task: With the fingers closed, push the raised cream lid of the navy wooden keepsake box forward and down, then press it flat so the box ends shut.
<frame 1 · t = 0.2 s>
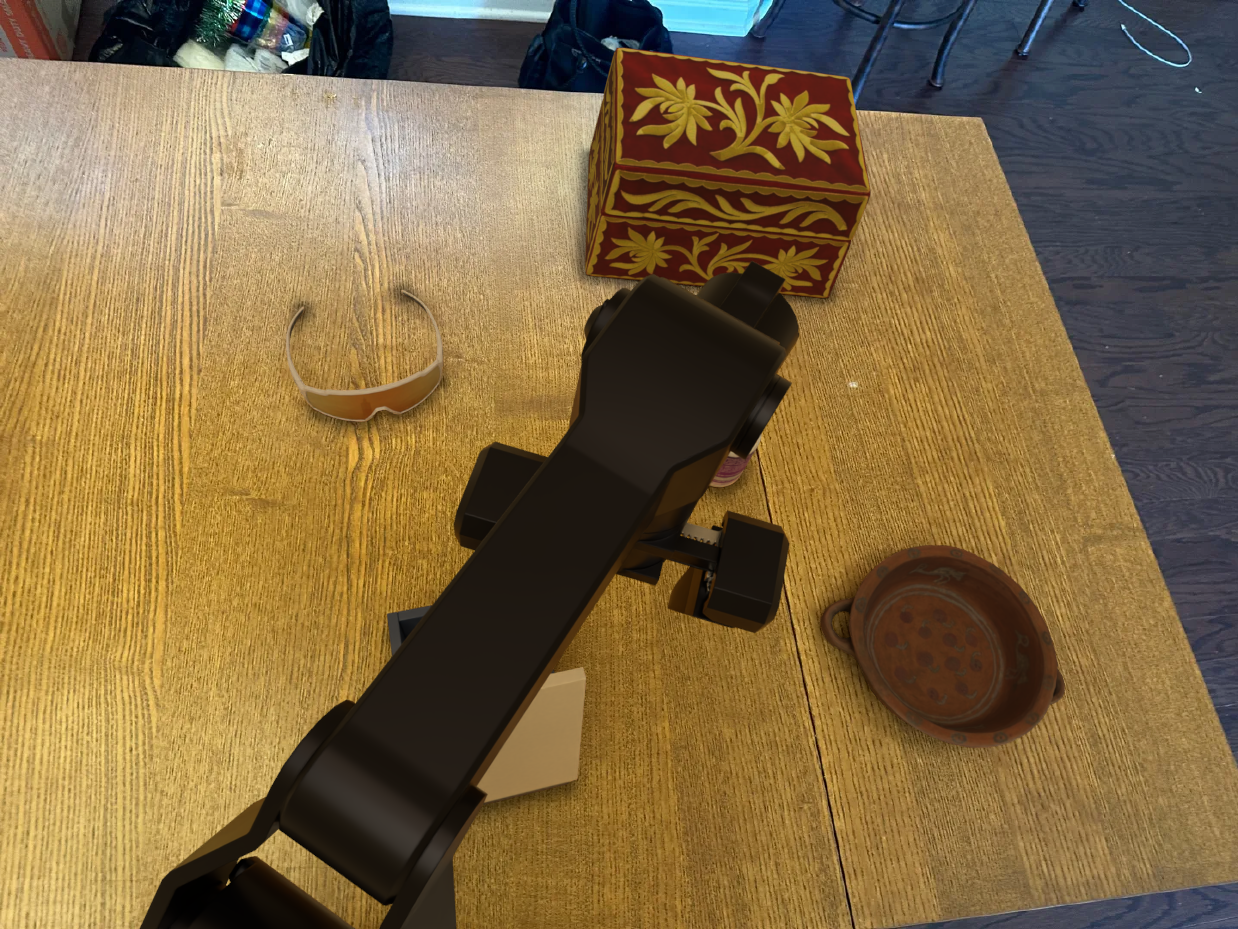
hand: (605, 582, 54), 17 cm above the table, tool pointing down, fingers open, 9 cm apart
lid: (490, 750, 51), point 14 cm above the table, hinge at 75.0°
dish: (928, 654, 73), on the table
decorative box: (704, 226, 93), on the table
pill bottle: (714, 464, 79), on the table
sunglasses: (368, 360, 79), on the table
keepsake box: (479, 707, 66), on the table
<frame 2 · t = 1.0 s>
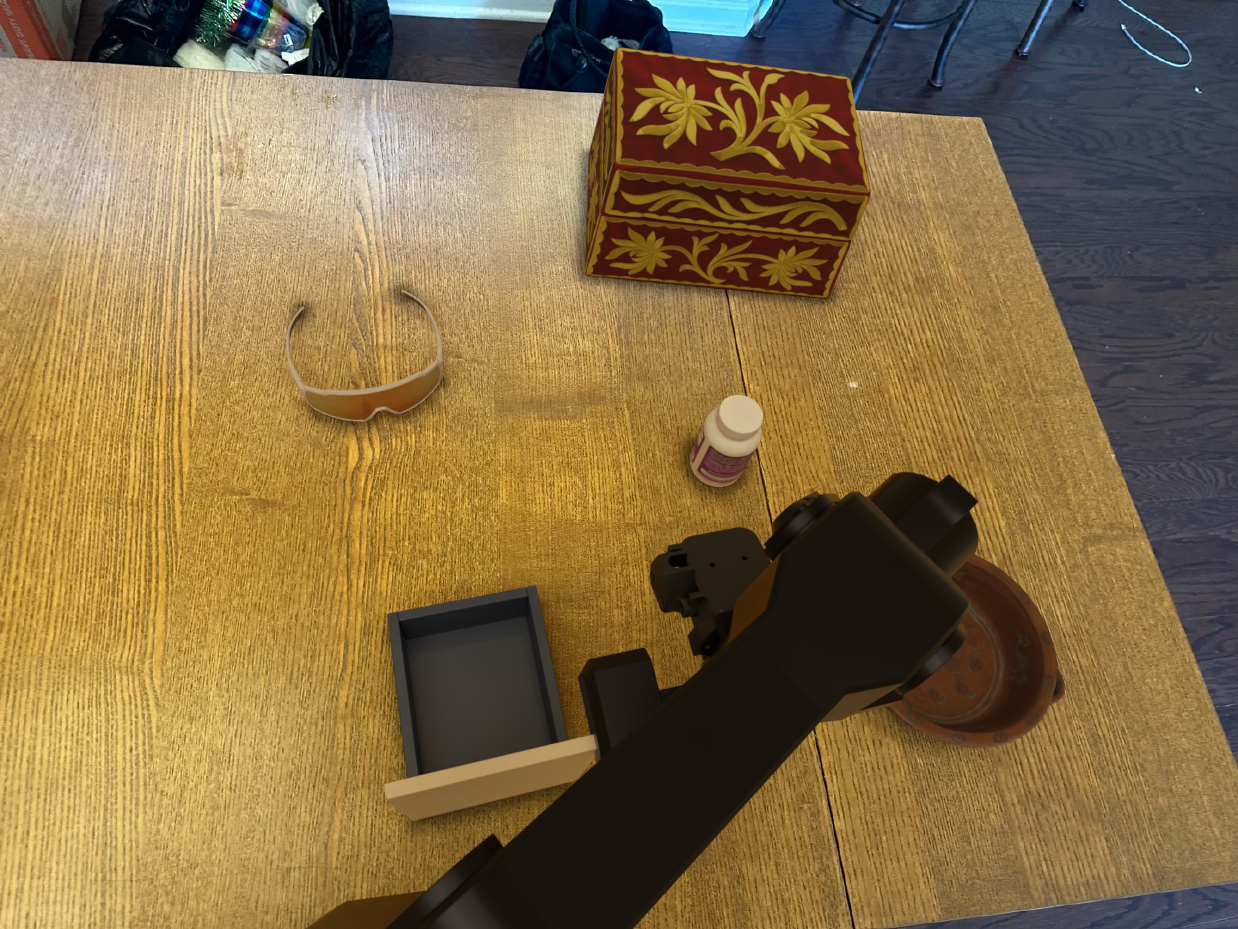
hand: (710, 709, 55), 14 cm above the table, tool pointing down, fingers open, 9 cm apart
lid: (496, 781, 50), point 14 cm above the table, hinge at 89.6°
everything else where it was.
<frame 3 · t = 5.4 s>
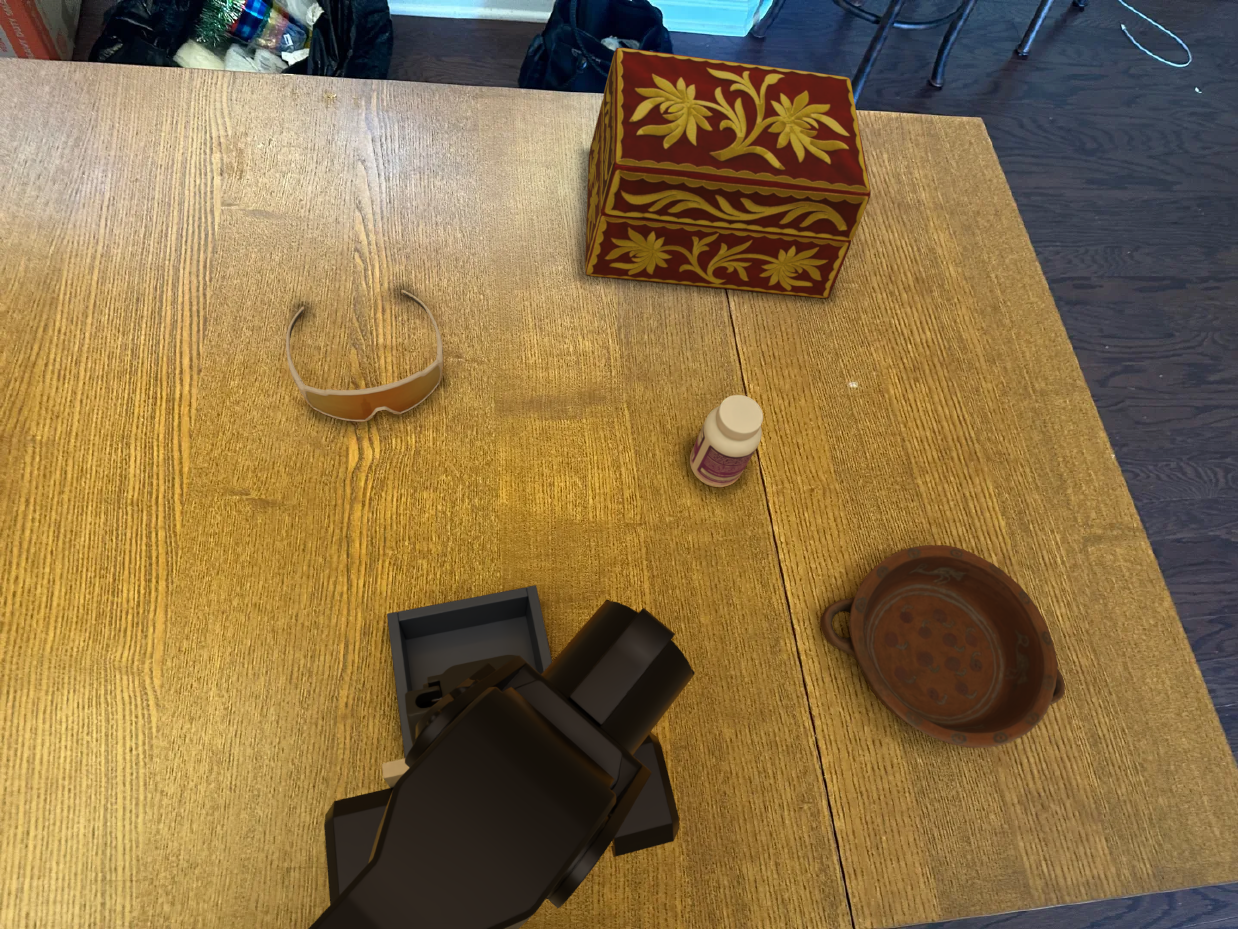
hand: (504, 830, 52), 11 cm above the table, tool pointing down, fingers closed
lid: (494, 773, 50), point 14 cm above the table, hinge at 85.7°, touching gripper
everything else where it was.
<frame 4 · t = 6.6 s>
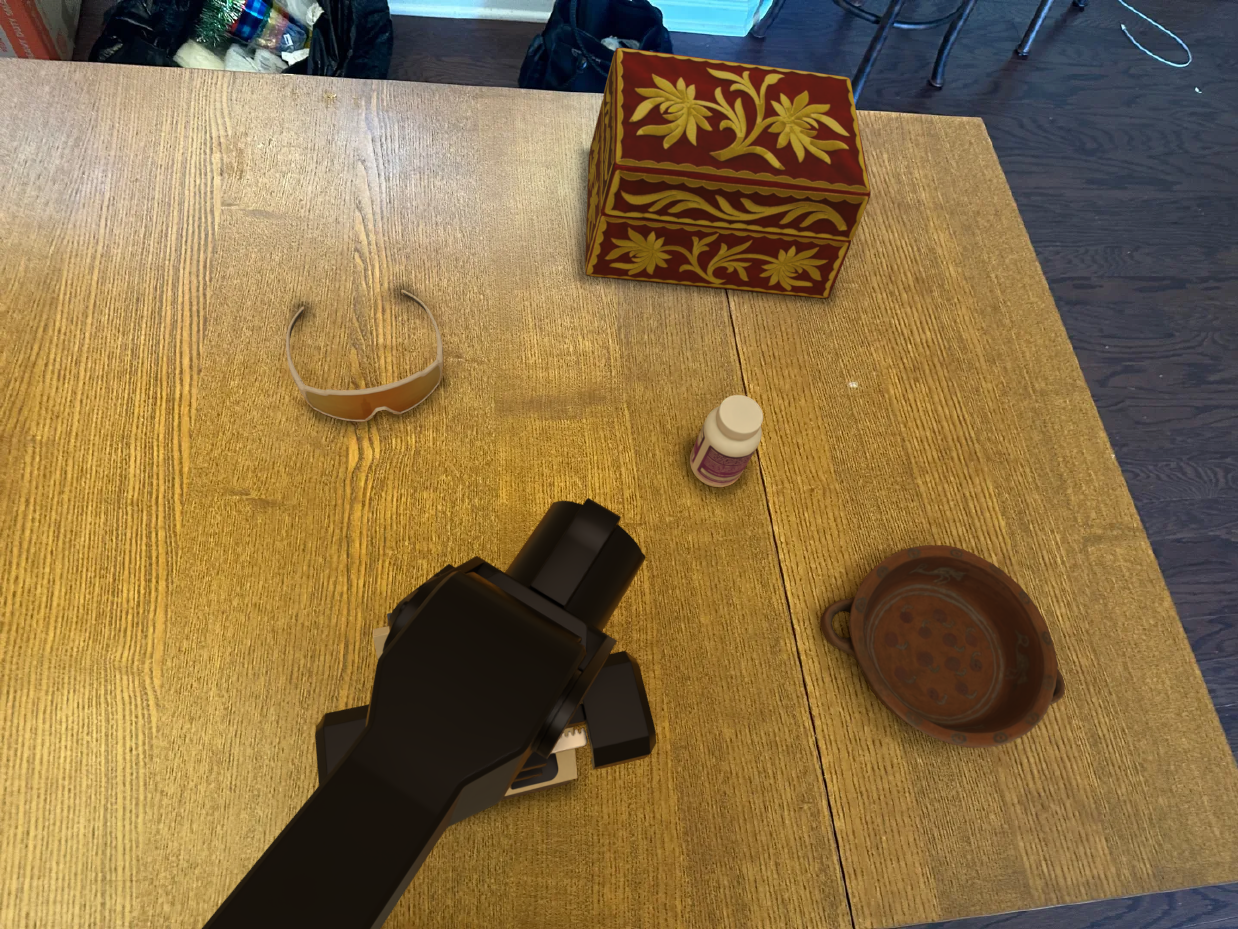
hand: (490, 756, 54), 11 cm above the table, tool pointing down, fingers closed
lid: (483, 709, 53), point 13 cm above the table, hinge at 51.5°, touching gripper
everything else where it was.
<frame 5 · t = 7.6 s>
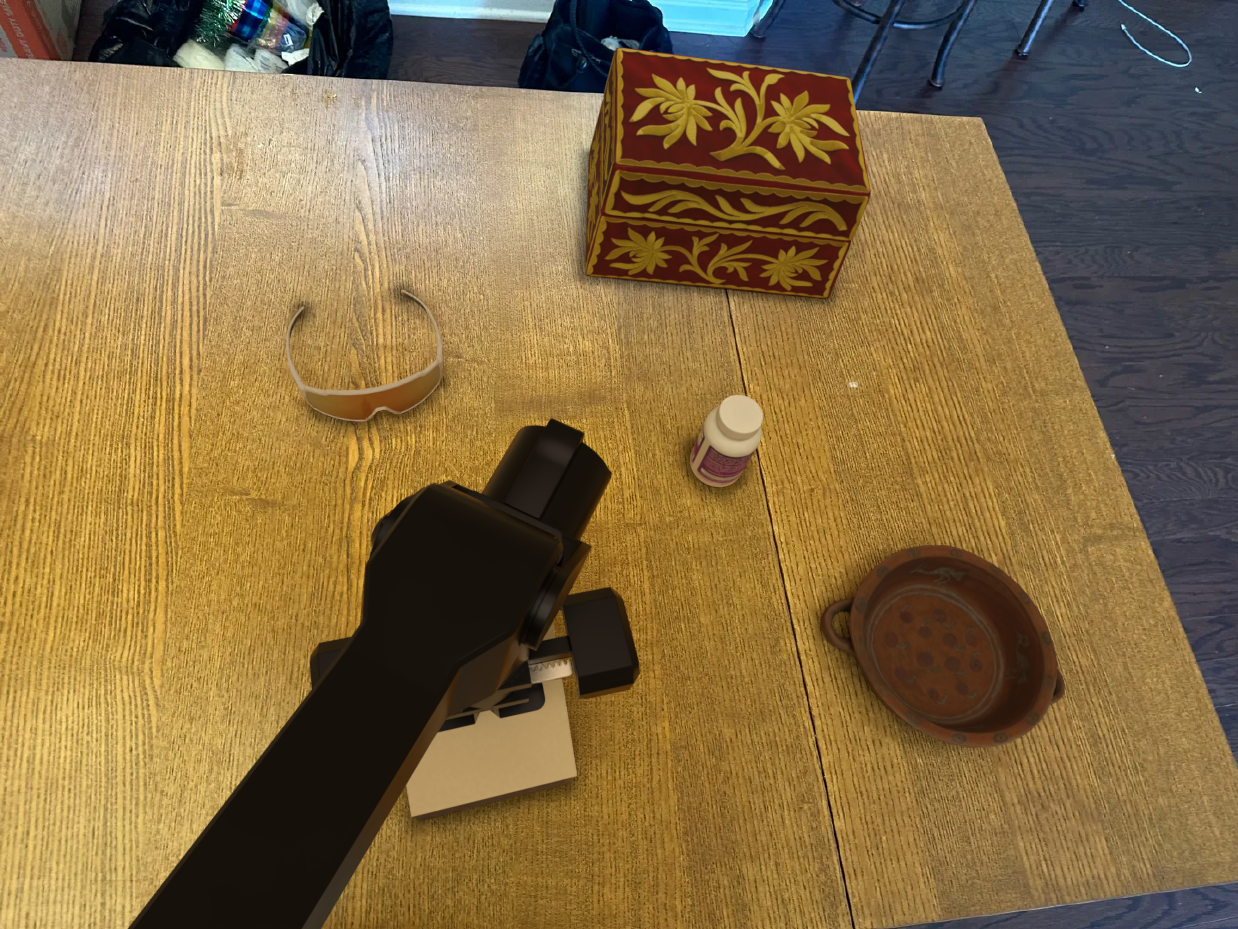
hand: (481, 694, 56), 11 cm above the table, tool pointing down, fingers closed
lid: (478, 686, 56), point 10 cm above the table, hinge at 27.3°, touching gripper
everything else where it was.
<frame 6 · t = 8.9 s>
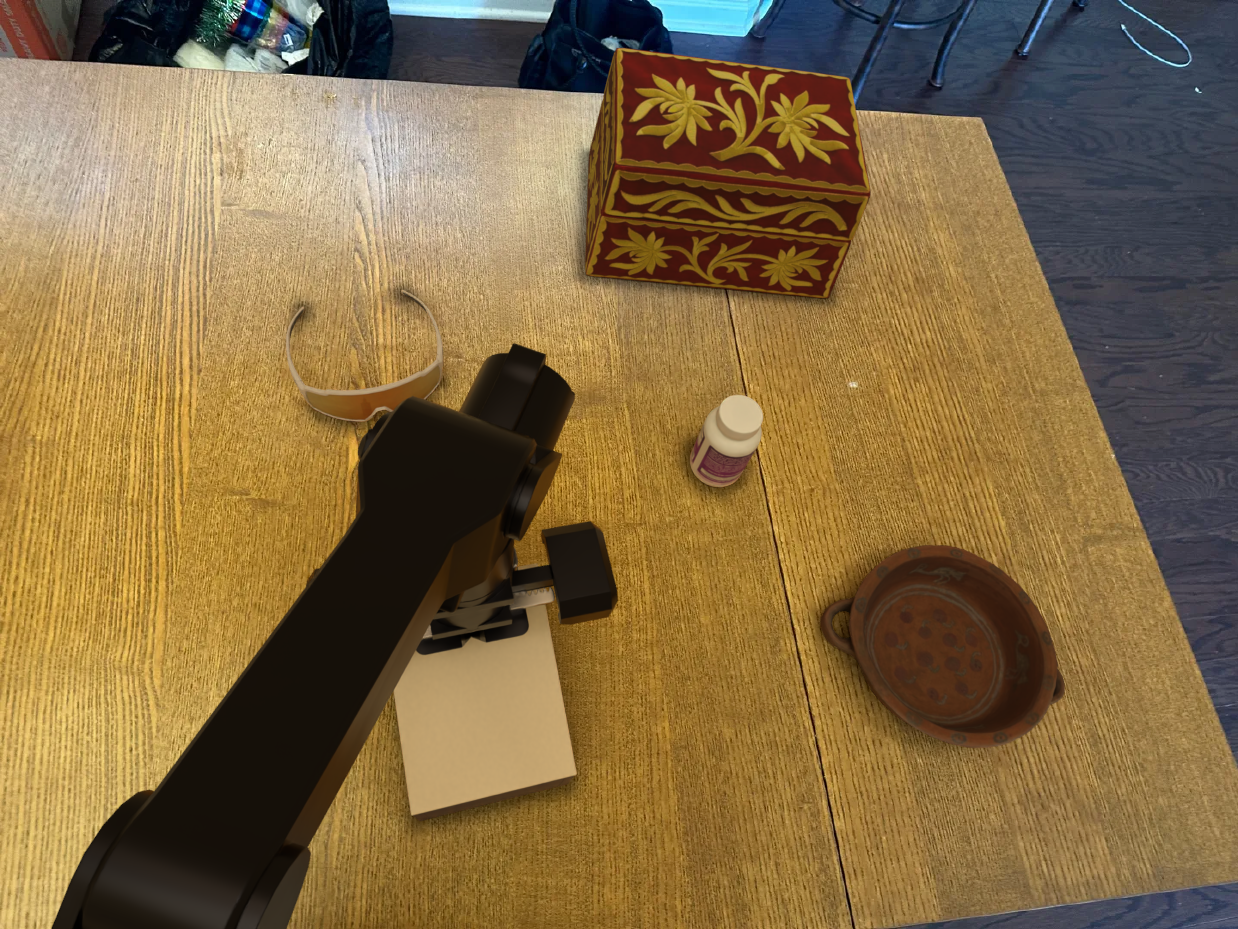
hand: (469, 629, 59), 10 cm above the table, tool pointing down, fingers closed, pressing on lid
lid: (477, 682, 58), point 8 cm above the table, hinge at 12.1°, touching gripper
everything else where it was.
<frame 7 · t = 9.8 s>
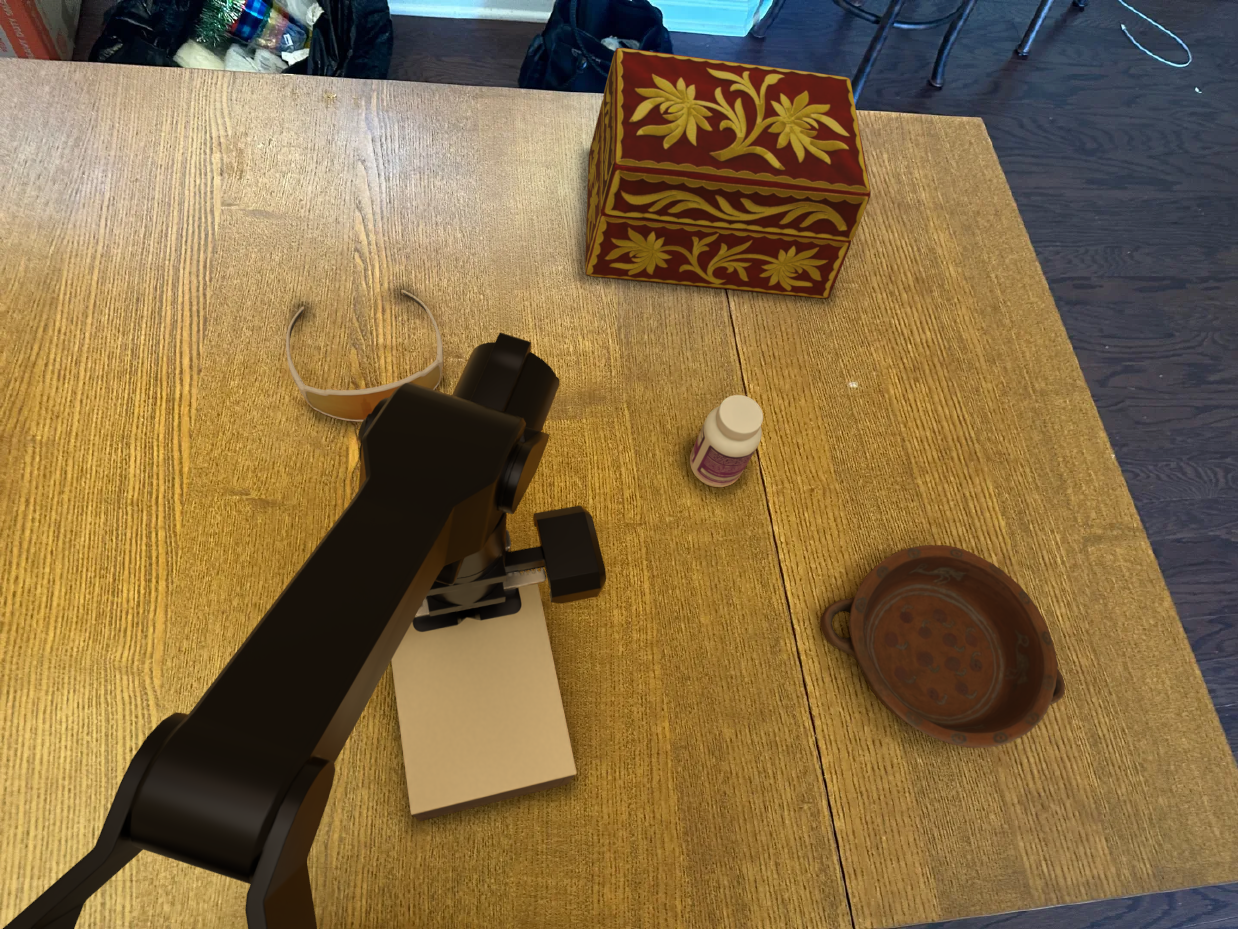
hand: (465, 610, 61), 8 cm above the table, tool pointing down, fingers closed, pressing on lid
lid: (477, 684, 60), point 7 cm above the table, hinge at 2.1°, touching gripper
everything else where it was.
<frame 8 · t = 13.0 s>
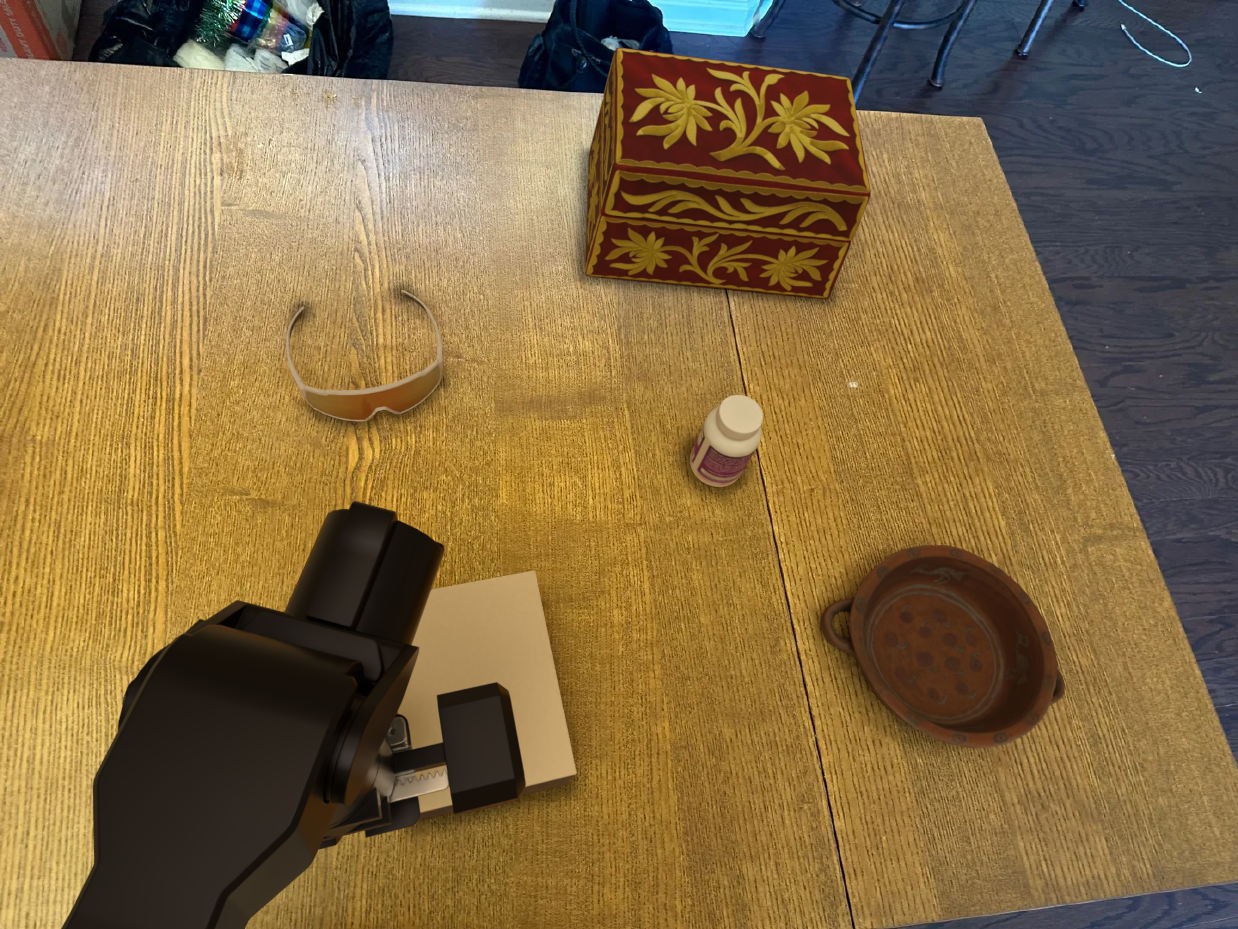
hand: (363, 794, 50), 13 cm above the table, tool pointing down, fingers closed
lid: (477, 684, 60), point 7 cm above the table, hinge at 2.0°
everything else where it was.
at the end: lid at +2° (first picture: +75°); decorative box moved 0.2 cm from its start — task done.
